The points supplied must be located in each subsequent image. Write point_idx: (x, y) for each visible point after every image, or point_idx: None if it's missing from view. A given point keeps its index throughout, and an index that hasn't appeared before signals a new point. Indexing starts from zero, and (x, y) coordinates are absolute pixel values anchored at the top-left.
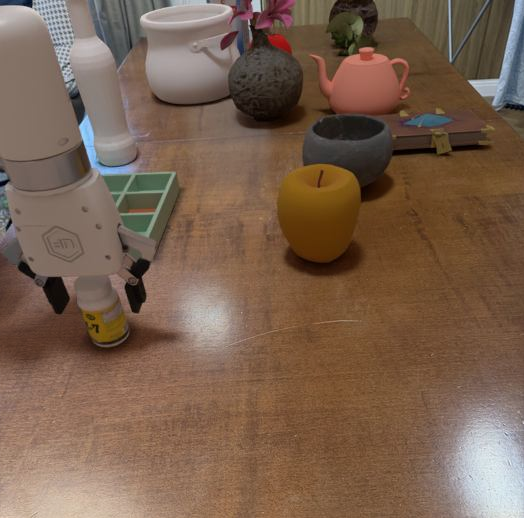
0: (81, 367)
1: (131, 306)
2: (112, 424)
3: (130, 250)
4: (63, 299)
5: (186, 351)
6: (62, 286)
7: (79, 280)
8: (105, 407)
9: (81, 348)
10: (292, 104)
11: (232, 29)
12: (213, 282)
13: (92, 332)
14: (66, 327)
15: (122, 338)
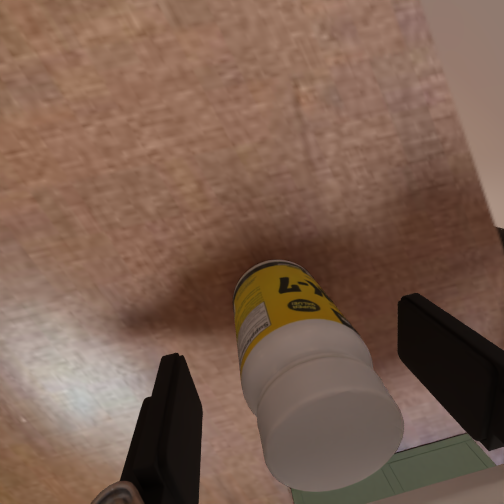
0: (295, 191)
1: (170, 373)
2: (108, 4)
3: (335, 497)
4: (415, 345)
5: (73, 293)
6: (440, 390)
7: (386, 436)
8: (164, 68)
9: (322, 246)
10: None
11: None
12: None
13: (299, 277)
14: (381, 294)
15: (236, 289)
